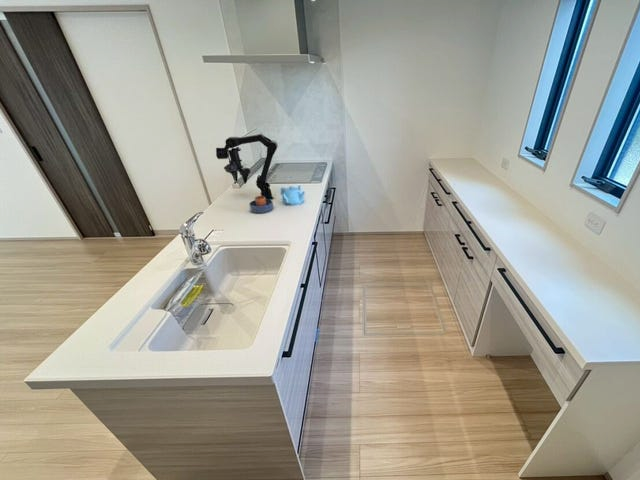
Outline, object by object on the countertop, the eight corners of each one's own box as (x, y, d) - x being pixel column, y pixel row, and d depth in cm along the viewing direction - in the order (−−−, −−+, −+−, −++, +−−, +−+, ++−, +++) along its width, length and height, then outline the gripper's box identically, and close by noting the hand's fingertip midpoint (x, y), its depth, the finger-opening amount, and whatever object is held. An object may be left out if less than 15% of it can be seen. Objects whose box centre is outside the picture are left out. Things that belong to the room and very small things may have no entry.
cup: (265, 206, 202) (263, 195, 198) (268, 209, 197) (266, 197, 193) (255, 208, 199) (253, 196, 195) (258, 211, 194) (255, 199, 190)
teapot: (303, 197, 218) (301, 182, 212) (307, 204, 206) (304, 188, 200) (281, 200, 213) (278, 184, 208) (283, 207, 202) (281, 191, 196)
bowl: (270, 204, 206) (268, 197, 204) (276, 210, 196) (275, 203, 194) (248, 208, 200) (247, 201, 198) (254, 215, 190) (252, 208, 188)
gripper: (215, 159, 198) (222, 183, 207) (233, 162, 190) (239, 187, 198) (230, 155, 206) (236, 179, 215) (248, 159, 197) (253, 183, 206)
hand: (240, 182), depth 208 cm, fingers open, 9 cm apart
